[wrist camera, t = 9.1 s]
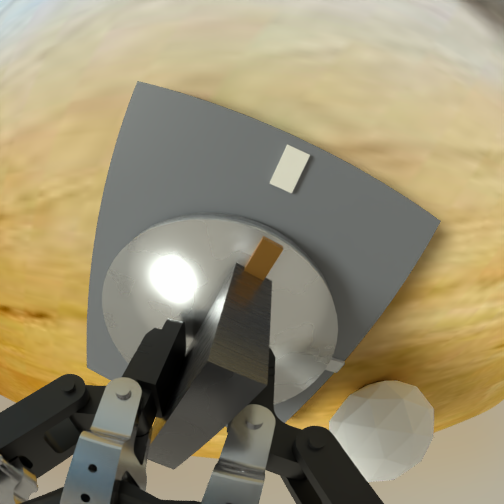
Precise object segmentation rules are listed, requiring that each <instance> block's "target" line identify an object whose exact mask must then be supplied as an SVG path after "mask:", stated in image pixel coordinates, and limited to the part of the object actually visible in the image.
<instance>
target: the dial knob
mask: <svg viewBox="0 0 504 504" xmlns="http://www.w3.org/2000/svg"><path fill="white" fill-rule="evenodd" d="M102 308H103V314H104V320H105V323H106V326H107V329H108V332H109V334H110V336H111V338H112V341H113V342H114V344H115V346H116V347H117V349H118V351H119V352H120V353H121V355H122V356H123V357H124V359H125V360H126V361H127V362H128V363H130V361H131V359H132V357H133V355H134V354H135V352H136V351H137V348H138V347H139V345H140V344H141V341H142V340H143V338H144V336H145V334H147V333H148V332H149V331H151V330H152V329H153V328H158V329H162V327H163V326H164V324H165V322H166V320H167V319H172V320H178V321H183V322H185V326H186V355H185V358H184V361H183V363H182V366H181V369H180V371H179V374H178V377H177V379H176V382H175V385H174V388H173V390H172V393H171V396H170V398H169V401H168V404H167V407H166V410H165V412H164V415H163V418H158V417H156V419H155V422H154V425H153V427H152V428H153V431H152V436H151V442H150V447H149V452H148V458H147V459H148V460H151V461H153V462H156V463H158V464H161V465H164V466H166V467H169V468H172V469H175V468H176V467H177V466H179V465H180V464H181V463H183V462H184V461H185V460H186V459H188V458H189V457H190V456H191V455H192V454H194V453H195V452H196V451H197V450H198V449H200V448H201V447H202V446H203V445H204V444H205V443H207V442H208V441H209V440H210V439H211V438H212V437H214V436H215V435H216V434H217V433H218V432H219V431H220V430H221V429H222V428H224V427H225V426H226V425H227V424H228V423H229V422H230V421H231V420H232V419H233V418H234V417H235V416H237V415H238V414H239V413H240V412H241V411H242V410H243V409H244V408H245V407H246V406H247V405H248V404H249V403H250V402H251V401H252V400H253V399H254V398H255V397H256V396H257V395H258V394H259V393H260V392H261V391H262V390H263V389H264V388H265V387H266V386H267V382H268V363H269V348H271V350H272V352H273V354H274V356H275V384H274V405H275V404H278V403H280V402H283V401H286V400H288V399H290V398H292V397H294V396H296V395H297V394H299V393H301V392H302V391H304V390H305V389H306V388H308V387H309V386H310V385H311V384H312V383H314V382H315V381H316V380H317V379H318V377H319V376H320V375H321V374H322V373H323V371H324V370H325V368H326V367H327V366H328V364H329V362H330V360H331V358H332V356H333V354H334V350H335V347H336V343H337V335H338V321H337V314H336V310H335V306H334V302H333V299H332V295H331V292H330V289H329V287H328V285H327V282H326V280H325V278H324V276H323V274H322V273H321V271H320V270H319V268H318V267H317V265H316V264H315V262H314V261H313V260H312V259H311V258H310V257H309V256H308V255H307V253H306V252H305V251H304V250H303V249H301V248H300V247H299V246H298V245H297V244H296V243H294V242H293V241H292V240H291V239H289V238H288V237H286V236H285V235H283V234H281V233H280V232H278V231H277V230H275V229H273V228H271V227H268V226H266V225H264V224H262V223H260V222H257V221H254V220H251V219H248V218H245V217H241V216H237V215H231V214H225V213H213V212H199V213H189V214H183V215H179V216H175V217H171V218H168V219H165V220H163V221H161V222H158V223H156V224H154V225H152V226H151V227H149V228H147V229H146V230H144V231H143V232H141V233H140V234H139V235H138V236H137V237H135V238H134V239H133V240H132V241H131V242H130V243H128V244H127V245H126V246H125V247H124V248H123V249H122V250H121V251H120V252H119V254H118V255H117V256H116V257H115V259H114V260H113V262H112V264H111V266H110V268H109V269H108V271H107V274H106V278H105V281H104V285H103V292H102Z"/></svg>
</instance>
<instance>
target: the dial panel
mask: <svg viewBox="0 0 504 504" xmlns="http://www.w3.org/2000/svg"><path fill="white" fill-rule="evenodd" d="M199 212H213V213H225V214H231V215H237V216H241V217H245V218H248V219H251V220H254V221H257V222H260V223H262V224H264V225H266V226H268V227H271V228H273V229H275V230H277V231H278V232H280V233H281V234H283V235H285V236H286V237H288V238H289V239H291V240H292V241H293V242H294V243H296V244H297V245H298V246H299V247H300V248H301V249H303V250H304V251H305V252H306V253H307V255H308V256H309V257H310V258H311V259H312V260H313V261H314V262H315V264H316V265H317V267H318V268H319V270H320V271H321V273H322V274H323V276H324V278H325V280H326V282H327V285H328V287H329V289H330V292H331V295H332V299H333V302H334V306H335V310H336V314H337V321H338V335H337V343H336V347H335V350H334V354H333V356H332V358H331V360H330V362H329V364H328V366H327V367H326V368H325V370H324V371H323V373H322V374H321V375H320V376H319V377H318V379H317V380H316V381H315V382H314V383H312V384H311V385H310V386H309V387H308V388H306V389H305V390H304V391H302V392H301V393H299V394H297V395H296V396H294V397H292V398H290V399H288V400H286V401H283V402H280V403H278V404H275V405H274V411H275V414H276V415H277V417H278V418H279V419H280V420H281V421H282V422H284V423H285V422H286V421H287V420H288V419H289V418H290V417H292V416H293V415H294V414H295V413H296V412H297V411H298V410H299V409H300V408H301V407H302V406H303V405H304V404H305V403H306V402H307V401H308V400H309V399H310V398H311V397H312V396H313V395H314V394H315V393H316V392H317V391H318V389H319V388H320V387H321V386H322V385H323V384H324V383H325V382H326V381H327V380H328V379H329V378H330V377H331V375H332V374H333V373H334V372H335V373H337V372H338V371H339V370H340V369H341V367H342V366H343V365H344V364H345V362H344V361H345V360H346V358H347V357H348V356H349V355H350V354H351V353H352V351H353V350H354V349H355V348H356V346H357V345H358V344H359V343H360V342H361V340H362V339H363V338H364V337H365V335H366V334H367V333H368V332H369V330H370V329H371V328H372V326H373V325H374V324H375V322H376V321H377V320H378V318H379V317H380V316H381V314H382V313H383V312H384V310H385V309H386V308H387V306H388V305H389V303H390V302H391V301H392V299H393V298H394V296H395V295H396V293H397V292H398V291H399V289H400V288H401V286H402V285H403V283H404V282H405V280H406V279H407V277H408V276H409V274H410V273H411V271H412V269H413V268H414V266H415V265H416V263H417V261H418V260H419V258H420V257H421V255H422V253H423V252H424V250H425V248H426V247H427V245H428V243H429V241H430V240H431V238H432V236H433V234H434V233H435V231H436V229H437V227H438V225H439V224H440V222H441V221H440V220H438V219H437V218H436V217H434V216H433V215H431V214H430V213H429V212H427V211H426V210H424V209H423V208H421V207H420V206H418V205H417V204H415V203H414V202H412V201H411V200H409V199H408V198H406V197H405V196H403V195H402V194H400V193H398V192H397V191H395V190H394V189H392V188H390V187H389V186H387V185H385V184H384V183H382V182H381V181H379V180H377V179H375V178H374V177H372V176H370V175H369V174H367V173H365V172H363V171H362V170H360V169H358V168H356V167H355V166H353V165H351V164H349V163H347V162H345V161H344V160H342V159H340V158H338V157H336V156H334V155H332V154H330V153H328V152H326V151H324V150H322V149H320V148H318V147H316V146H314V145H312V144H310V143H308V142H306V141H304V140H302V139H300V138H298V137H295V136H293V135H291V134H289V133H287V132H284V131H282V130H280V129H278V128H275V127H273V126H271V125H268V124H266V123H263V122H261V121H259V120H256V119H254V118H251V117H249V116H246V115H244V114H241V113H238V112H236V111H233V110H230V109H228V108H225V107H222V106H219V105H216V104H214V103H211V102H208V101H205V100H202V99H199V98H196V97H193V96H189V95H186V94H183V93H180V92H176V91H173V90H169V89H166V88H162V87H159V86H155V85H151V84H147V83H143V82H139V81H137V84H136V87H135V89H134V92H133V94H132V97H131V100H130V102H129V105H128V108H127V111H126V114H125V117H124V120H123V123H122V126H121V129H120V132H119V135H118V138H117V142H116V145H115V149H114V152H113V156H112V159H111V163H110V167H109V171H108V175H107V179H106V183H105V188H104V192H103V197H102V202H101V206H100V212H99V217H98V223H97V228H96V235H95V241H94V248H93V256H92V264H91V273H90V283H89V296H88V313H87V368H89V369H91V370H93V371H94V372H96V373H98V374H100V375H102V376H104V377H105V378H107V379H109V380H111V381H112V380H114V379H116V378H121V377H122V375H123V374H124V372H125V370H126V368H127V366H128V364H129V363H128V362H127V361H126V360H125V359H124V357H123V356H122V355H121V353H120V352H119V351H118V349H117V347H116V346H115V344H114V342H113V341H112V338H111V336H110V334H109V332H108V329H107V326H106V323H105V320H104V314H103V308H102V292H103V285H104V281H105V278H106V274H107V271H108V269H109V268H110V266H111V264H112V262H113V260H114V259H115V257H116V256H117V255H118V254H119V252H120V251H121V250H122V249H123V248H124V247H125V246H126V245H127V244H128V243H130V242H131V241H132V240H133V239H134V238H135V237H137V236H138V235H139V234H140V233H141V232H143V231H144V230H146V229H147V228H149V227H151V226H152V225H154V224H156V223H158V222H161V221H163V220H165V219H168V218H171V217H175V216H179V215H183V214H189V213H199ZM227 425H228V424H227ZM227 425H226V427H227Z"/></svg>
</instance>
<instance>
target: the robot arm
mask: <svg viewBox="0 0 504 504" xmlns="http://www.w3.org/2000/svg"><path fill="white" fill-rule="evenodd" d="M185 355H186V326H185V322H183V321H178V320H172V319H167V320H166V322H165V324H164V326H163V327H162V329H158V328H153V329H152V330H151V331H149V332H148V333H147V334H145V336H144V338H143V340H142V341H141V344H140V345H139V347H138V348H137V351H136V352H135V354H134V355H133V357H132V359H131V361H130V363H129V364H128V366H127V368H126V370H125V372H124V374H123V375H122V377H121V378H116V379H114V380H112V381H110V382H109V383H108V385H107V386H92V385H85V383H84V381H83V379H82V378H81V377H79V376H77V375H74V374H66V375H63V376H61V377H59V378H57V379H56V380H54V381H52V382H51V383H49V384H47V385H46V386H44V387H42V388H41V389H39V390H37V391H36V392H34V393H32V394H31V395H29V396H27V397H26V398H24V399H22V400H21V401H19V402H17V403H16V404H14V405H12V406H11V407H9V408H7V409H6V410H4V411H2V412H1V413H0V504H259V500H260V496H261V492H262V488H263V484H264V479H265V470H267V471H270V472H273V473H275V474H278V475H280V476H281V478H282V480H283V481H284V483H285V485H286V487H287V488H288V490H289V492H290V494H291V495H292V497H293V499H294V501H295V502H296V504H384V503H383V502H382V501H381V499H380V498H379V497H378V495H377V494H376V493H375V491H374V490H373V489H372V487H371V486H370V485H369V483H368V482H367V481H366V479H365V478H364V477H363V475H362V474H361V472H360V471H359V470H358V468H357V467H356V466H355V464H354V463H353V461H352V460H351V459H350V457H349V456H348V455H347V453H346V452H345V450H344V449H343V448H342V446H341V445H340V443H339V442H338V441H337V439H336V438H335V436H334V435H333V434H332V433H331V432H330V431H329V430H327V429H326V428H323V427H320V426H310V427H307V428H304V429H303V430H301V429H298V428H295V427H292V426H289V425H287V424H285V423H284V422H282V421H281V420H280V419H279V418H278V417H277V415H276V414H275V411H274V384H275V356H274V354H273V352H272V350H271V348H269V363H268V382H267V386H266V387H265V388H264V389H263V390H262V391H261V392H260V393H259V394H258V395H257V396H256V397H255V398H254V399H253V400H252V401H251V402H250V403H249V404H248V405H247V406H246V407H245V408H244V409H243V410H242V411H241V412H240V413H239V414H238V415H237V416H235V417H234V418H233V419H232V420H231V421H230V422H229V423H228V425H227V432H228V435H227V438H226V441H225V444H224V447H223V450H222V452H221V455H220V458H219V461H218V463H217V464H216V465H215V468H214V470H213V472H212V475H211V478H210V481H209V483H208V486H207V488H206V491H205V494H204V496H203V499H202V502H197V501H174V500H160V499H158V498H156V497H154V496H152V495H151V494H149V493H147V492H145V490H146V483H147V476H146V464H147V458H148V452H149V447H150V442H151V436H152V431H153V428H152V424H153V422H154V419H155V417H158V418H163V415H164V412H165V410H166V407H167V404H168V401H169V398H170V396H171V393H172V390H173V388H174V385H175V382H176V379H177V377H178V374H179V371H180V369H181V366H182V363H183V361H184V358H185ZM71 455H73V458H72V461H71V464H70V467H69V471H68V474H67V477H66V481H65V485H64V487H62V488H59V489H57V490H55V491H52V492H50V493H47V494H45V495H42V496H39V497H37V498H34V499H31V500H28V499H29V496H30V495H31V493H33V492H37V490H38V485H37V478H38V477H40V476H42V475H43V474H45V473H46V472H47V471H49V470H51V469H52V468H54V467H55V466H57V465H58V464H60V463H61V462H63V461H64V460H66V459H67V458H69V457H70V456H71Z"/></svg>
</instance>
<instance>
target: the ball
mask: <svg viewBox="0 0 504 504" xmlns="http://www.w3.org/2000/svg"><path fill="white" fill-rule="evenodd" d="M329 431H330V432H331V433H332V434H333V435H334V436H335V438H336V439H337V441H338V442H339V443H340V445H341V446H342V448H343V449H344V450H345V452H346V453H347V455H348V456H349V457H350V459H351V460H352V461H353V463H354V464H355V466H356V467H357V468H358V470H359V471H360V472H361V474H362V475H363V477H364V478H365V479H366V481H367V482H374V481H386V480H394V479H396V478H397V477H399V476H400V475H402V474H403V473H405V472H406V471H408V470H409V469H411V468H412V467H413V466H415V465H417V464H418V463H419V462H420V461H422V459H423V457H424V455H425V453H426V451H427V449H428V447H429V445H430V443H431V441H432V438H433V431H434V408H433V407H432V406H431V404H430V403H429V402H428V400H427V399H426V398H425V397H424V395H423V394H422V393H421V391H420V390H419V389H418V388H417V386H413V385H410V384H407V383H404V382H400V381H397V380H393V381H382V382H377V383H373V384H369V385H367V386H365V387H363V388H361V389H360V390H358V391H356V392H354V393H352V394H350V395H349V396H348V398H347V399H346V400H345V401H344V402H343V403H342V405H341V406H340V408H339V409H338V410H337V412H336V413H335V414H334V416H333V417H332V418H331V419H330V421H329Z"/></svg>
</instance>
